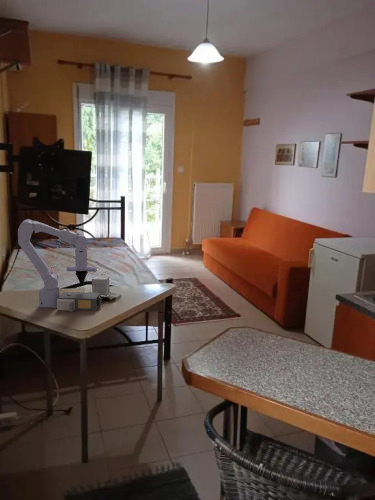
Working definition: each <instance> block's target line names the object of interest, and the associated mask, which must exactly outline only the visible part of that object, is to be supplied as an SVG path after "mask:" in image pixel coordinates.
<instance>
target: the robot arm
mask: <svg viewBox="0 0 375 500" xmlns="http://www.w3.org/2000/svg"><path fill="white" fill-rule="evenodd" d="M40 232H42V233H46V234H49V235H52V236H55V237H58V239H59V240H60V241H61V242H62V241H63V242H65V243H68V244H70V245H74V246H75V249H74V255H75V256H74V257H75V258H74V259H75V260H74V261H75V266H67V267H66V272H75V276H76V277H77V280H78V282H79V286H80V287H83V286H84V285H85V281H86V277H87V275H88V273H90V272H92V273H96V272H97V271H98V270H97V267H93V266H88V248H87V245H88V240H87V237H86V236H85V235H84V234H83V233H79V232H74V231H71V230H70V229H69V228H66V229H65V228H63V229H58V228H56V227H53V226H51V225H48V224H46V223H42V222H39V221H37V220H32V219H30V218H27V219H24V220H23V221H22V222H21V223H20V225H19V226H18V229H17V243H18V246H19V247H20V248H21V250H22V251H23V252H24V253H25V255H26V256H27V258H28V259H29V261H30V262H31V264H32V265H33V266H34V268H35V269H36V271H37V272H38V273H39V274H40V277H41V280H42V282H43V287H40V288H39V290H38V308H53V309H54V308H56V309H57V300H58V297H59V296H60V295H61V294H60V293H61V291H60V285H59V284H58V283H59V275H58V274H57V273H56V272H54V271H53V270H52V269H51V268H50V267H49V266H48V264H47V263H46V262H45V261H44V259H43V258H42V256H41V255H40V254H39V252H38V251H37V249H36V248H35V246H34V245H33V244H32V242H31V238H32V234H33V233H34V234H37V233H40Z"/></svg>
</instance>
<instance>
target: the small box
mask: <svg viewBox="0 0 375 500" xmlns="http://www.w3.org/2000/svg"><path fill="white" fill-rule="evenodd" d="M91 293H100V295H105V296H107V295H108V294H109V293H111V291H110V276H100V275H99V276H98V275H95V276H94V277H92V278H91Z"/></svg>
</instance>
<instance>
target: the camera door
mask: <svg viewBox="0 0 375 500" xmlns="http://www.w3.org/2000/svg"><path fill="white" fill-rule="evenodd" d="M56 309H57V311H69V312H73V311H74V312H75V311H76V310H75V300H71V299H58V300H57V308H56Z"/></svg>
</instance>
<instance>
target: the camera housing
mask: <svg viewBox="0 0 375 500" xmlns="http://www.w3.org/2000/svg"><path fill="white" fill-rule="evenodd" d="M58 299H71V300H75V310H74V311H95V312H96V311H97V309H99V308H100V307H101V305H102V298H101V297H100V293H92V292H85V291H84V292H83V291H81V292H80V291H79V292H77V291H76V292H74V291H64V292H62V293H61V294H60V296H59V297H58Z"/></svg>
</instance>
